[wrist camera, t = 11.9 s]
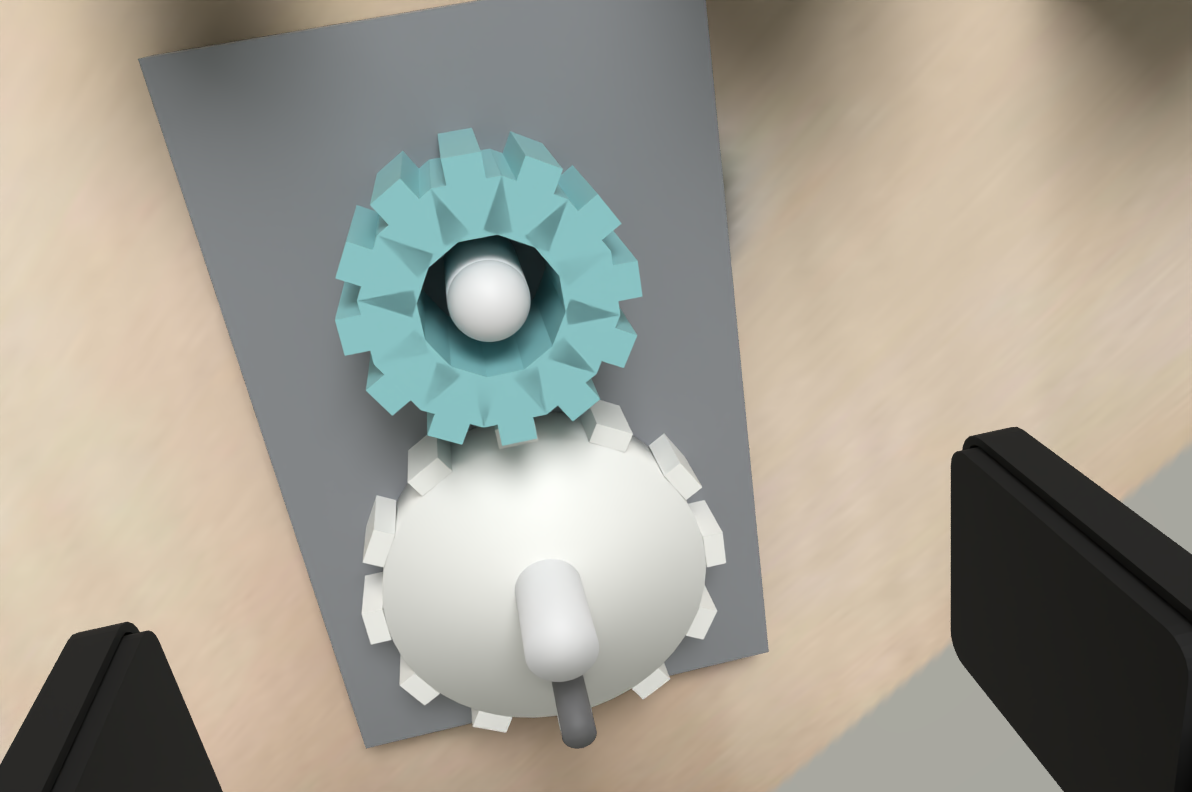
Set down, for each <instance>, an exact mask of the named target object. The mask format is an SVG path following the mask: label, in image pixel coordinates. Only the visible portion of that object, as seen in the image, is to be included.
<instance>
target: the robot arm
mask: <svg viewBox="0 0 1192 792" xmlns="http://www.w3.org/2000/svg"><path fill="white" fill-rule="evenodd" d="M951 638H952V642H953V646H954V649H955V651H956V653H957V656H958V658H959V660H960V661H961V663H962V664H963V665H964V667H965V668H966V669H967V670H968V672H969V673H970V674H971V676H973V678H974V679H975V681H976V682H977V683H978V684H979V686H980V687H981V688H982V689H983V691H984V692H985V693H986V694H987V696H988V697H989V698H990V699H991V701H992V702H993V703H994V704H995V706H996V707H997V708H998V710H999V711H1000V712H1001V713H1002V714H1003V716H1004V717H1005V718H1006V719H1007V721H1008V722H1009V723H1010V725H1011V726H1012V727H1013V728H1014V729H1015V731H1016V732H1017V733H1018V735H1019V736H1020V737H1021V738H1022V740H1023V741H1024V742H1025V743H1026V745H1027V746H1028V747H1029V748H1030V750H1031V751H1032V752H1033V753H1034V755H1035V756H1036V757H1037V758H1038V760H1039V761H1040V762H1041V764H1042V765H1043V766H1044V767H1045V769H1046V770H1047V771H1048V772H1049V774H1050V775H1051V776H1052V777H1053V779H1054V780H1055V781H1056V782H1057V784H1058V785H1059V786H1060V787H1061V789H1062V790H1063V791H1064V792H1192V554H1190V553H1189V552H1188V551H1186V550H1185V549H1184V548H1182V547H1181V546H1180V545H1178V544H1177V543H1176V542H1174V541H1173V540H1171V539H1170V538H1169V537H1167V536H1166V535H1165V534H1163V533H1162V532H1161V531H1159V530H1158V529H1157V528H1155V527H1154V526H1153V525H1151V524H1150V523H1148V522H1147V521H1146V520H1144V519H1143V518H1141V517H1140V516H1139V515H1138V514H1136V513H1135V512H1134V511H1132V510H1131V509H1129V508H1128V507H1127V506H1125V505H1124V504H1123V503H1121V502H1120V501H1119V500H1117V499H1116V498H1115V497H1113V496H1112V495H1111V494H1109V493H1108V492H1106V491H1105V490H1104V489H1102V488H1101V487H1100V486H1098V485H1097V484H1096V483H1094V482H1093V481H1092V480H1090V479H1089V478H1088V477H1086V476H1085V475H1083V474H1082V473H1081V472H1079V471H1078V470H1077V469H1075V468H1074V467H1073V466H1071V465H1070V464H1069V463H1067V462H1066V461H1064V460H1063V459H1062V458H1060V457H1059V456H1058V455H1056V454H1055V453H1054V452H1052V451H1051V450H1050V449H1048V448H1047V447H1046V446H1044V445H1043V444H1041V443H1040V442H1039V441H1037V440H1036V439H1035V438H1033V437H1032V436H1031V435H1029V434H1028V433H1027V432H1025V431H1024V430H1022V429H1020V428H1018V427H1010V428H1006V429H1001V430H997V431H992V432H987V433H983V434H978V435H974V436H969V437H968V438H967V439H966V440H965V442H964V445H963V449H962V451H957V452H956V453H954V454H953V457H952V460H951ZM0 792H223V791H222V789H221V786H220V784H219V782H218V779H217V777H216V775H215V772H214V770H213V768H212V765H211V763H210V760H209V758H208V756H207V753H206V751H205V749H204V746H203V744H202V742H201V739H200V737H199V734H198V732H197V730H196V727H195V725H194V723H193V720H192V718H191V716H190V713H189V711H188V708H187V706H186V704H185V701H184V699H183V697H182V694H181V692H180V690H179V687H178V685H177V682H176V680H175V678H174V675H173V673H172V671H171V668H170V666H169V664H168V661H167V659H166V656H165V654H164V652H163V649H162V647H161V645H160V642H159V640H158V638H157V637H156V635H155V634H154V633H153V632H152V631H144V632H139V630H138V628H137V627H136V626H135V625H134V624H133V623H130V622H124V623H120V624H115V625H110V626H106V627H101V628H97V629H92V630H88V631H83V632H79V633H76V634H73V635H72V636H71V637H70V639H69V640H68V641H67V643H66V645H65V647H64V649H63V650H62V652H61V654H60V656H59V658H58V660H57V661H56V663H55V665H54V667H53V669H52V671H51V673H50V674H49V676H48V678H47V680H46V682H45V684H44V685H43V687H42V689H41V691H40V693H39V695H38V696H37V698H36V700H35V702H34V704H33V706H32V707H31V709H30V711H29V713H28V715H27V717H26V718H25V720H24V722H23V724H22V726H21V728H20V729H19V731H18V733H17V735H16V737H15V739H14V741H13V742H12V744H11V746H10V748H9V750H8V752H7V753H6V755H5V757H4V759H3V761H2V763H1V764H0Z"/></svg>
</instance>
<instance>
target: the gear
mask: <svg viewBox="0 0 1192 792" xmlns="http://www.w3.org/2000/svg"><path fill="white" fill-rule="evenodd" d="M438 142H439V150H440V158H435V159H429V160H428V161H427V162H426V163H424V164H423V165H422V166H421V167H420V168H418V167H417V166H416V165H415V164H414V163H413V161H412V160H411V159H410V158H409V157H408V156H407V155H406V154H405V152H404V151H402V152H401V153H399V154H398V155H397V156H396V157H395V158H394V159H393V160H391V161H390V162H389V163H388V164H387V165H386V166H385V167H384V168H382V169H381V170H380V171H379V172H378V173H377V175H376V180H375V184H374V189H373V193H372V198H371V202H370V206H371V207H372V208H373V209H374V210H375V211H373V210H370V209H367V208H364V207H361V206H358V205H356V209H355V212H354V216H353V219H352V222H351V226H350V229H349V232H348V236H347V239H346V242H345V246H344V249H343V253H342V256H341V260H340V263H339V267H338V270H337V274H336V277H335V278H336V279H339V280H342V281H345V282H344V286H343V290H342V294H341V298H340V302H339V306H338V310H337V313H336V317H335V322H336V326H337V330H338V333H339V337H340V340H341V344H342V348H343V351H344V355H345V356H346V355H351V354H356V353H361V352H366V351H370V352H371V355H370V362H369V370H368V378H367V385H366V391H367V392H368V393H369V394H370V395H371V396H372V397H373V398H374V399H375V400H376V401H377V402H378V403H379V404H380V405H381V406H382V407H384V408H385V409H386V410H387V411H388V412H389V413H390V414H391V415H392V416H393V415H394V414H395V413H396V412H397V411H399V410H400V409H401V408H402V407H403V406H404V405H406V404H407V403H408V402H409V401H410V400H411V401H412V402H413V403H414V404H415V405H416V406H417V407H418V408H419V409H420V410H422V411H426V412H427V435H428V436H431V437H435V438H439V439H442V440H446V441H450V442H454V443H457V444H461V445H462V444H463V442H464V439H465V436H466V433H467V431H468V428H469V425H470V424H472V425H476V426H480V427H489V426H494V425H498V429H499V433H500V438H501V443H502V446H504V445H509V444H514V443H518V442H523V441H528V440H533V439H537V434H536V429H535V424H534V419H533V417H537V416H542V415H546V414H548V413H549V412H551V411H552V410H553V409H554V408H555V407H557V406H559V407H560V408H561V409H562V410H563V412H564V413H565V414H566V415H567V416H568V417H569V418H570V419H571V420H572V421H574V420H575V419H577V418H578V417H579V416H580V415H582V414H583V413H584V412H585V411H587V410H588V409H589V408H590V407H591V406H593V405H594V404H595V403H596V402H598V401H599V400H600V397H599V395H598V393H597V390H596V388H595V386H594V384H593V381H592V379H591V378H592V377H593V376H595V375H596V374H597V372H598V369H599V367H600V364H601V362H602V361H603V362H606V363H609V364H613V365H616V366H619V367H622V368H624V367H625V364H626V362H627V359H628V357H629V354H630V352H631V350H632V347H633V345H634V342H635V340H636V338H637V334H636V332H635V331H634V329H633V328H632V326H631V324H630V323H629V321H628V320H627V318H626V317H625V315H624V313H623V312H622V310H621V309H620V307H619V302H618V301H622V300H627V299H632V298H637V297H642V289H641V282H640V274H639V267H638V261H637V259H636V258H635V257H634V256H633V254H632V253H631V252H630V251H629V249H628V248H627V247H626V246H625V244H624V243H623V242H622V241H621V239H620V238H619V237H618V236H617V234H616V233H615V232H614V231H613V230H614V229H616V228H617V227H618V226H619V225H620V224H622V223H621V222H620V221H619V220H618V218H617V217H616V216H615V215H614V213H613V212H612V211H611V210H610V208H609V207H608V206H607V205H606V204H605V202H604V201H603V200H602V199H601V197H600V196H599V195H598V194H597V192H596V191H595V190H594V189H593V188H592V187H591V186H590V184H589V183H588V182H587V181H586V180H585V179H584V178H583V176H582V175H581V174H580V173H579V172H578V171H577V170H576V168H575V167H574V166H573V165H572V166H571V167H570V168H568V169H567V170H566V171H565V172H564V173H563V174H561V173H562V170H563V168H562V167H561V166H560V165H559V163H558V162H557V161H556V160H555V158H554V157H553V156H552V155H551V153H550V152H549V151H548V150H547V148H546V147H545V146H544V145H543V143H540V142H538V141H535V140H532V139H530V138H527V137H524V136H522V135H519V134H516V133H514V132H511V131H510V133H509V136H508V139H507V142H506V145H505V147H504V150H503V153H501V152H498V151H495V150H492V149H484V150H480V148H479V145H478V142H477V140H476V137H475V135H474V132H473V129H472V128H467V129H462V130H456V131H451V132H445V133H439V134H438ZM493 235H500V236H503V237H506V238H509V239H512V240H515V241H518V242H521V243H524V244H527V245H529V246H532V247H535V248H536V249H537V251H538V252H539V253H540V254H541V255H542V256H543V257H544V261H545V267H546V268H545V271H544V274H543V276H542V279H541V282H540V284H539V287H538V290H537V293H536V295H535V298H534V299H533V300H531V304H530V310H529V314H528V316H527V319H526V321H525V322H524V324H523V325H522V327H521V328H520V329H519V330H518V331H517V332H516V333H514V334H513V335H511V336H510V337H508V338H506V339H503V340H500V341H495V342H484V341H479V340H475V339H473V338H471V337H469V336H467V335H465V334H464V333H463V332H462V331H461V330H459V329H458V327H457V326H456V325H455V324H454V322H453V320H452V318H451V316H448V315H446V314H445V313H444V312H443V311H442V310H441V309H440V308H439V307H438V306H437V304H436V303H435V302H434V301H433V300H432V299H431V298H430V297H429V296H428V295H427V294H426V293H425V292H424V289H423V283H424V280H425V277H426V274H427V271H428V268H429V267H430V266H431V265H432V264H433V263H435V262H436V261H437V260H438V259H439V258H440V257H442V256H443V255H444V254H445V253H446V252H447V251H449V250H450V249H451V248H452V247H453V246H454V245H455V244H457V243H458V242H461V241H467V240H472V239H477V238H482V237H488V236H493Z"/></svg>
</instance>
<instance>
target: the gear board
mask: <svg viewBox="0 0 1192 792" xmlns="http://www.w3.org/2000/svg"><path fill="white" fill-rule="evenodd" d="M138 60H139V63H140V66H141V69H142V72H143V75H144V78H145V81H146V84H147V87H148V90H149V93H150V96H151V99H152V102H153V106H154V109H155V112H156V115H157V118H158V121H159V124H160V127H161V130H162V133H163V136H164V139H165V142H166V145H167V148H168V151H169V154H170V157H171V160H172V163H173V166H174V169H175V172H176V175H177V178H178V181H179V184H180V187H181V190H182V193H183V196H184V199H185V202H186V205H187V208H188V211H189V214H190V217H191V220H192V223H193V226H194V230H195V233H196V236H197V239H198V242H199V245H200V248H201V251H202V254H203V257H204V260H205V263H206V266H207V269H208V272H209V275H210V278H211V281H212V284H213V287H214V290H215V293H216V296H217V299H218V302H219V305H220V308H221V311H222V314H223V317H224V320H225V323H226V326H227V329H228V332H229V335H230V338H231V341H232V344H233V347H234V351H235V354H236V357H237V360H238V363H239V366H240V369H241V372H242V375H243V378H244V381H245V384H246V387H247V390H248V393H249V396H250V399H251V402H252V405H253V408H254V411H255V414H256V417H257V420H258V423H259V426H260V429H261V432H262V435H263V438H264V441H265V444H266V447H267V450H268V453H269V456H270V459H271V462H272V465H273V468H274V472H275V475H276V478H277V481H278V484H279V487H280V490H281V493H282V496H283V499H284V502H285V505H286V508H287V511H288V514H289V517H290V520H291V523H292V526H293V529H294V532H295V535H296V538H297V541H298V544H299V547H300V550H301V553H302V556H303V559H304V562H305V565H306V568H307V571H308V574H309V577H310V580H311V583H312V586H313V589H314V593H315V596H316V599H317V602H318V605H319V608H320V611H321V614H322V617H323V620H324V623H325V626H326V629H327V632H328V635H329V638H330V641H331V644H332V647H333V650H334V653H335V656H336V659H337V662H338V665H339V668H340V671H341V674H342V677H343V680H344V683H345V686H346V689H347V692H348V695H349V698H350V701H351V704H352V707H353V710H354V714H355V717H356V720H357V723H358V726H359V729H360V732H361V735H362V738H363V741H364V744H365V747H366V748H370V747H374V746H378V745H382V744H386V743H390V742H395V741H399V740H403V739H407V738H411V737H415V736H420V735H424V734H428V733H432V732H436V731H441V730H445V729H449V728H453V727H457V726H461V725H466V724H470V723H472V725H473V727H478V728H483V729H488V730H494V731H499V732H505V733H506V732H507V729H508V727H509V725H510V722H511V720H512V717H526V718H537V717H549V716H557V717H558V722H559V726H560V731H561V734H562V739H563V742H564V743H565V744H566V745H567V746H569V747H571V748H583V747H586V746H588V745H590V744H591V743H592V742H593V741H594V740H595V738H596V734H597V731H596V727H595V723H594V718H593V714H592V709H591V707H594V706H596V705H599V704H601V703H604V702H606V701H609V700H611V699H613V698H615V697H617V696H619V695H621V694H622V693H624V692H626V691H628V690H630V689H631V688H632V690H633V691H635V692H636V693H637V694H638V695H639V696H640V697H641V698H642V699H645V698H646V697H647V696H649V695H650V694H651V693H653V692H654V691H655V690H657V689H658V688H659V687H661V686H662V685H663V684H665V683H666V682H667V681H668V680H670V677H669V676H670V675H674V674H678V673H683V672H687V671H691V670H695V669H699V668H703V667H708V666H712V665H716V664H720V663H724V662H728V661H733V660H737V659H741V658H745V657H749V656H753V655H758V654H762V653H766V652H769V650H768V640H767V630H766V619H765V609H764V599H763V588H762V578H761V567H760V557H759V547H758V536H757V526H756V516H755V505H754V495H753V485H752V474H751V464H750V454H749V443H748V433H747V423H746V412H745V402H744V391H743V381H742V371H741V360H740V350H739V340H738V329H737V319H736V309H735V298H734V288H733V278H732V267H731V257H730V247H729V236H728V226H727V215H726V205H725V195H724V184H723V174H722V164H721V153H720V143H719V133H718V122H717V112H716V102H715V91H714V81H713V71H712V60H711V50H710V39H709V29H708V19H707V8H706V0H477V1H471V2H465V3H459V4H453V5H447V6H441V7H435V8H429V9H423V10H417V11H411V12H406V13H400V14H394V15H388V16H382V17H376V18H370V19H364V20H358V21H352V22H346V23H340V24H334V25H329V26H323V27H317V28H311V29H305V30H299V31H293V32H287V33H281V34H275V35H269V36H263V37H257V38H251V39H246V40H240V41H234V42H228V43H222V44H216V45H210V46H204V47H198V48H192V49H186V50H180V51H174V52H169V53H163V54H157V55H152V56H148V57H144V58H140V59H138ZM467 128H472V129H473V132H474V135H475V137H476V140H477V142H478V145H479V148H480V150H484V149H492V150H495V151H498V152H501V153H503V150H504V147H505V145H506V142H507V139H508V136H509V133H510V131H511V132H514V133H516V134H519V135H522V136H524V137H527V138H530V139H532V140H535V141H538V142H540V143H543V145H544V146H545V147H546V148H547V150H548V151H549V152H550V153H551V155H552V156H553V157H554V158H555V160H556V161H557V162H558V163H559V165H560V166H561V167H562V168H563V170H562V173H561V174H563V173H564V172H565V171H566V170H567V169H568V168H570V167H571V166H572V165H573V166H574V167H575V168H576V170H577V171H578V172H579V173H580V174H581V175H582V176H583V178H584V179H585V180H586V181H587V182H588V183H589V184H590V186H591V187H592V188H593V189H594V190H595V191H596V192H597V194H598V195H599V196H600V197H601V199H602V200H603V201H604V202H605V204H606V205H607V206H608V207H609V208H610V210H611V211H612V212H613V213H614V215H615V216H616V217H617V218H618V220H619V221H620V222H621V223H622V224H620V225H619V226H618V227H617V228H616V229H614V230H613V231H614V232H615V233H616V234H617V236H618V237H619V238H620V239H621V241H622V242H623V243H624V244H625V246H626V247H627V248H628V249H629V251H630V252H631V253H632V254H633V256H634V257H635V258H636V259H637V261H638V267H639V274H640V282H641V289H642V297H637V298H632V299H627V300H622V301H618V302H619V307H620V309H621V310H622V312H623V313H624V315H625V317H626V318H627V320H628V321H629V323H630V324H631V326H632V328H633V329H634V331H635V332H636V334H637V338H636V340H635V342H634V345H633V347H632V350H631V352H630V354H629V357H628V359H627V362H626V364H625V367H624V368H622V367H619V366H616V365H613V364H609V363H606V362H603V361H602V362H601V364H600V367H599V369H598V372H597V374H596V375H595V376H593V377H592V378H591V379H592V381H593V384H594V386H595V388H596V390H597V393H598V395H599V397H600V400H599V401H598V402H596V403H595V404H594V405H593V406H591V407H590V408H589V409H588V410H587V411H585V412H584V413H583V414H582V415H580V416H579V417H578V418H577V419H575V420H574V421H572V420H571V419H570V418H569V417H568V416H567V415H566V414H565V413H564V412H563V410H562V409H561V408H560V407H559V406H557V407H555V408H554V409H553V410H552V411H551V412H549V413H548V414H546V415H542V416H537V417H533V419H534V424H535V429H536V434H537V439H533V440H528V441H523V442H518V443H514V444H509V445H504V446H502V443H501V438H500V433H499V429H498V425H494V426H489V427H480V426H476V425H472V424H470V425H469V428H468V431H467V433H466V436H465V439H464V442H463V444H462V445H461V444H457V443H454V442H450V441H446V440H442V439H439V438H435V437H431V436H428V435H427V412H426V411H422V410H420V409H419V408H418V407H417V406H416V405H415V404H414V403H413V402H412V401H411V400H410V401H409V402H408V403H407V404H406V405H404V406H403V407H402V408H401V409H400V410H399V411H397V412H396V413H395V414H394V415H393V416H392V415H391V414H390V413H389V412H388V411H387V410H386V409H385V408H384V407H382V406H381V405H380V404H379V403H378V402H377V401H376V400H375V399H374V398H373V397H372V396H371V395H370V394H369V393H368V392H367V391H366V385H367V378H368V370H369V362H370V355H371V352H370V351H366V352H361V353H356V354H351V355H346V356H345V355H344V351H343V348H342V344H341V340H340V337H339V333H338V330H337V326H336V322H335V317H336V313H337V310H338V306H339V302H340V298H341V294H342V290H343V286H344V282H345V281H342V280H339V279H336V278H335V277H336V274H337V270H338V267H339V263H340V260H341V256H342V253H343V249H344V246H345V242H346V239H347V236H348V232H349V229H350V226H351V222H352V219H353V216H354V212H355V209H356V205H358V206H361V207H364V208H367V209H370V210H373V211H375V210H374V209H373V208H372V207H371V206H370V202H371V198H372V193H373V189H374V184H375V180H376V175H377V173H378V172H379V171H380V170H381V169H382V168H384V167H385V166H386V165H387V164H388V163H389V162H390V161H391V160H393V159H394V158H395V157H396V156H397V155H398V154H399V153H401V152H402V151H404V152H405V154H406V155H407V156H408V157H409V158H410V159H411V160H412V161H413V163H414V164H415V165H416V166H417V167H418V168H420V167H421V166H422V165H423V164H424V163H426V162H427V161H428V160H429V159H435V158H440V150H439V142H438V134H439V133H445V132H451V131H456V130H462V129H467ZM545 268H546V267H545V261H544V257H543V256H542V255H541V254H540V253H539V252H538V251H537V249H536V248H535V247H532V246H529V245H527V244H524V243H521V242H518V241H515V240H512V239H509V238H506V237H503V236H500V235H493V236H488V237H482V238H477V239H472V240H467V241H461V242H458V243H457V244H455V245H454V246H453V247H452V248H451V249H450V250H449V251H447V252H446V253H445V254H444V255H443V256H442V257H440V258H439V259H438V260H437V261H436V262H435V263H433V264H432V265H431V266H430V267H429V268H428V271H427V274H426V277H425V280H424V283H423V289H424V292H425V293H426V294H427V295H428V296H429V297H430V298H431V299H432V300H433V301H434V302H435V303H436V304H437V306H438V307H439V308H440V309H441V310H442V311H443V312H444V313H445V314H446V315H448V316H451V318H452V320H453V322H454V324H455V325H456V326H457V327H458V329H459V330H461V331H462V332H463V333H464V334H465V335H467V336H469V337H471V338H473V339H475V340H479V341H484V342H495V341H500V340H503V339H506V338H508V337H510V336H511V335H513V334H514V333H516V332H517V331H518V330H519V329H520V328H521V327H522V325H523V324H524V322H525V321H526V319H527V316H528V314H529V310H530V304H531V300H533V299H534V298H535V295H536V293H537V290H538V287H539V284H540V282H541V279H542V276H543V274H544V271H545Z"/></svg>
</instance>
